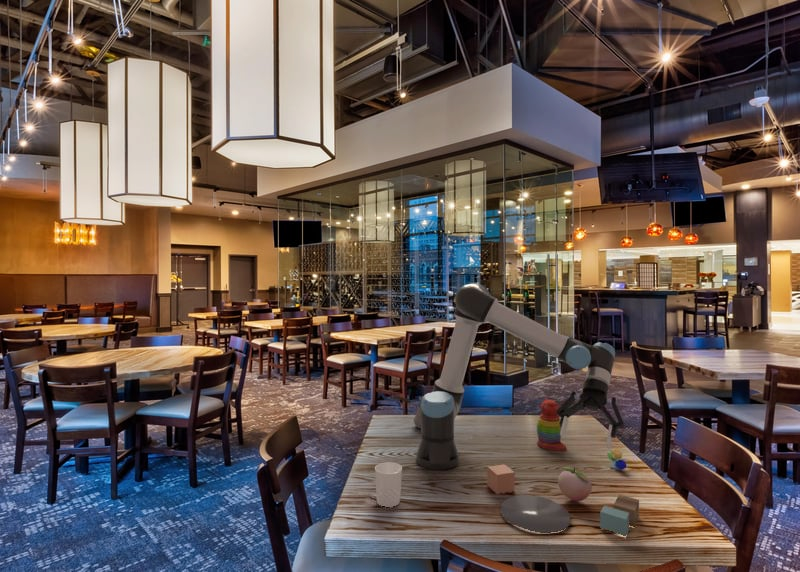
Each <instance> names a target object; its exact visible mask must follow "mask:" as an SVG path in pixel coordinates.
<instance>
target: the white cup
mask: <svg viewBox="0 0 800 572" xmlns="http://www.w3.org/2000/svg"><path fill="white" fill-rule="evenodd" d="M374 475H375V476H374V477H375V478H374V480H375V481H374V482H375V492H376V503H377V505H378V504H379V505H378V506H380V505H381V506H380V507H382V506H385V507H384V508H386V507H390V508H394V507H393V506H395V507H397V506H398V505H400V502H401V492H402V475H403V466H402V465H400V464H399V463H397V462H393V461H392V462H390V461H389V462H388V461H386V462H381V463H379V464H377V465H375V467H374ZM396 505H397V506H396Z"/></svg>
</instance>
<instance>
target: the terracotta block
mask: <svg viewBox="0 0 800 572" xmlns="http://www.w3.org/2000/svg"><path fill="white" fill-rule="evenodd" d="M486 468H487V469H486V470H487V472H486V474H487V475H486V476H487V478H486V479H487V482H486V483H487V484H486V485H488V486H487V487H488V488H490V489H491V490H492V491H493V492H494V493H495V494H496V495H501V494H500V493H502V494H507V493H506V492H508V493H513V492H512V491H515V479H516V477H515V475H516V474H515V473H516V472H515V471H513V469H511V468H510V467H509V466H507V465H506V464H498V465H489V466H487V467H486Z"/></svg>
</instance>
